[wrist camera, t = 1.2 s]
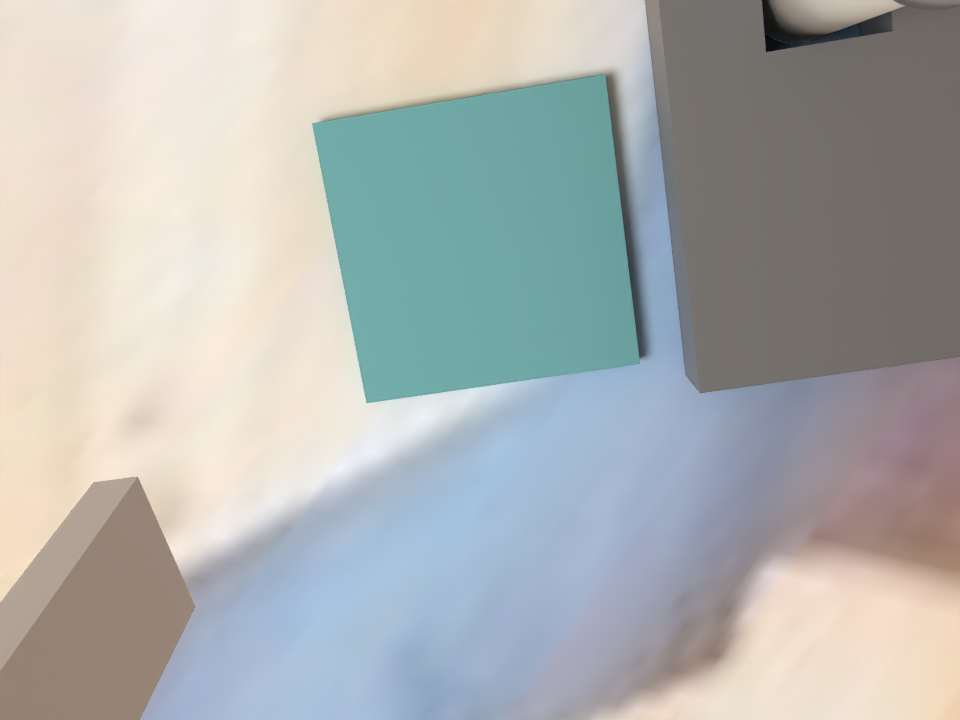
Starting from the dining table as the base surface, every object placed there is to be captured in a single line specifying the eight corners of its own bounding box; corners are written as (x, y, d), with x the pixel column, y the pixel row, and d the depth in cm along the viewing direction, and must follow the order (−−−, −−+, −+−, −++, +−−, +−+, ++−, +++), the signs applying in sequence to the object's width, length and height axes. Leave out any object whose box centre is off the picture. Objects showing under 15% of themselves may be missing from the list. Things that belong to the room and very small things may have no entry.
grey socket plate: (965, 334, 38) (1004, 350, 35) (685, 375, 38) (699, 393, 36) (949, -178, 33) (991, -209, 30) (632, -120, 34) (643, -145, 31)
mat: (637, 359, 38) (640, 363, 38) (369, 398, 39) (366, 403, 38) (603, 75, 36) (605, 74, 35) (316, 124, 37) (312, 123, 36)
